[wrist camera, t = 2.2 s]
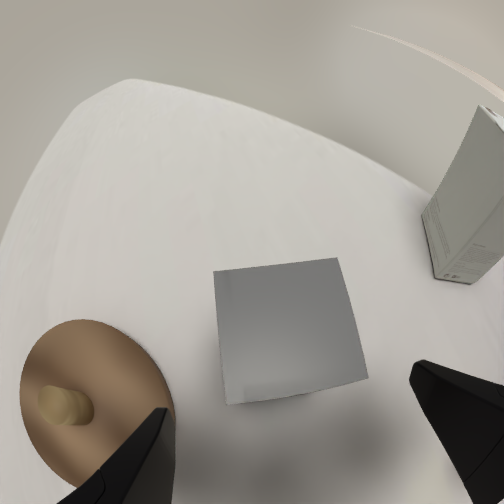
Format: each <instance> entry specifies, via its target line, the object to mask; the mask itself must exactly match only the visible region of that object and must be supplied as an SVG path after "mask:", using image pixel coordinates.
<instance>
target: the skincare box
mask: <svg viewBox="0 0 504 504" xmlns="http://www.w3.org/2000/svg"><path fill="white" fill-rule="evenodd" d="M422 218H423V222H424V226H425V230H426V234H427V238H428V243H429V247H430V252H431V257H432V262H433V267H434V274H435V278H438V279H446V280H451V281H456V282H461V283H467V284H472V283H475V282H477V281H478V280H479V279H480V278H481V277H482V276H483V275H484V274H485V273H486V272H488V271H489V270H490V269H491V268H492V267H493V266H494V265H495V264H496V263H497V262H498V261H499V260H500V259H501V258H502V257H503V256H504V117H502V116H500V115H498V114H497V113H495V112H493V111H491V110H490V109H488V108H486V107H484V106H482V105H478V107H477V110H476V112H475V115H474V117H473V119H472V122H471V124H470V126H469V128H468V131H467V133H466V135H465V137H464V140H463V142H462V144H461V146H460V148H459V150H458V152H457V154H456V156H455V158H454V160H453V162H452V164H451V165H450V167H449V169H448V171H447V173H446V175H445V177H444V178H443V180H442V182H441V184H440V186H439V187H438V189H437V191H436V193H435V194H434V196H433V198H432V199H431V201H430V203H429V204H428V206H427V208H426V209H425V211H424V212H423V214H422Z"/></svg>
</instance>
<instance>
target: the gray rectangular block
mask: <svg viewBox="0 0 504 504" xmlns="http://www.w3.org/2000/svg"><path fill="white" fill-rule="evenodd" d="M213 273H214V287H215V299H216V311H217V323H218V333H219V344H220V353H221V363H222V372H223V381H224V389H225V398H226V405H228V404H239V403H248V402H256V401H264V400H271V399H278V398H284V397H290V396H295V395H301V394H306V393H311V392H316V391H320V390H325V389H329V388H333V387H337V386H341V385H345V384H349V383H353V382H357V381H360V380H364V379H367V378H368V373H367V369H366V364H365V359H364V355H363V351H362V346H361V342H360V338H359V334H358V330H357V326H356V322H355V318H354V314H353V310H352V307H351V303H350V299H349V296H348V292H347V289H346V285H345V282H344V278H343V275H342V272H341V268H340V265H339V262H338V259H337V258H329V259H321V260H313V261H304V262H296V263H287V264H278V265H269V266H260V267H251V268H242V269H233V270H224V271H214V272H213Z"/></svg>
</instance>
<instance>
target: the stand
mask: <svg viewBox="0 0 504 504" xmlns="http://www.w3.org/2000/svg"><path fill="white" fill-rule="evenodd" d="M20 406H21V413H22V417H23V421H24V425H25V428H26V430H27V433H28V436H29V438H30V440H31V442H32V444H33V446H34V447H35V449H36V451H37V452H38V454H39V455H40V456H41V458H42V459H43V460H44V462H45V463H46V464H47V465H48V466H49V467H50V468H51V469H52V470H53V471H54V472H55V473H56V474H57V475H58V476H60V477H61V478H62V479H63V480H65V481H66V482H68V483H69V484H71V485H73V486H75V487H77V488H78V487H79V486H81V485H82V484H83V483H84V482H85V481H86V480H87V479H88V478H89V477H90V476H91V475H93V473H94V472H95V471H96V470H97V469H100V466H101V465H102V464H103V463H104V462H105V461H106V460H107V459H108V458H109V457H110V456H111V455H112V454H113V453H114V452H115V451H116V450H117V449H118V448H119V447H120V446H121V445H122V443H123V442H124V441H125V440H126V439H127V438H128V437H129V436H130V435H131V434H132V433H133V432H134V431H135V430H136V428H137V427H138V426H139V425H140V424H141V423H142V422H143V421H144V420H145V419H146V418H147V417H148V415H149V414H150V413H151V412H152V411H153V410H154V409H155V408H156V407H167V408H168V409H169V410H170V413H171V415H172V418H173V420H174V423H175V413H174V406H173V402H172V398H171V394H170V391H169V389H168V386H167V383H166V381H165V379H164V377H163V375H162V373H161V371H160V370H159V368H158V367H157V365H156V364H155V362H154V361H153V359H152V358H151V357H150V356H149V355H148V353H147V352H146V351H145V350H144V349H143V348H142V347H141V346H140V345H139V344H137V343H136V342H135V341H133V340H132V339H131V338H129V337H128V336H126V335H125V334H123V333H122V332H120V331H119V330H117V329H115V328H113V327H112V326H109V325H107V324H104V323H102V322H98V321H94V320H85V319H81V320H72V321H67V322H64V323H62V324H59V325H57V326H55V327H53V328H52V329H50V330H49V331H47V332H46V333H45V334H44V335H43V336H42V337H41V338H40V339H39V340H38V341H37V342H36V344H35V345H34V346H33V348H32V349H31V351H30V353H29V355H28V357H27V359H26V362H25V364H24V367H23V371H22V375H21V381H20Z"/></svg>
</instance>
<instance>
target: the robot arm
mask: <svg viewBox="0 0 504 504" xmlns="http://www.w3.org/2000/svg"><path fill="white" fill-rule="evenodd" d="M409 382H410V385H411V387H412V389H413V391H414V393H415V395H416V398H417V400H418V402H419V404H420V406H421V408H422V410H423V412H424V414H425V416H426V417H427V419H428V421H429V422H430V424H431V426H432V428H433V429H434V431H435V433H436V434H437V436H438V438H439V440H440V441H441V443H442V445H443V447H444V448H445V450H446V452H447V454H448V456H449V457H450V459H451V461H452V463H453V465H454V467H455V468H456V470H457V472H458V474H459V476H460V478H461V480H462V482H463V484H464V486H465V488H466V490H467V492H468V494H469V496H470V498H471V500H472V502H473V504H498V503H499V502H500V501H501V500H502V499H504V386H503V385H499V384H496V383H493V382H490V381H486V380H483V379H480V378H477V377H474V376H471V375H468V374H465V373H462V372H459V371H456V370H453V369H450V368H447V367H444V366H441V365H438V364H435V363H432V362H429V361H427V360H420V361H417V362H415V363H414V364H413V367H412V371H411V374H410V378H409ZM174 473H175V423H174V420H173V418H172V415H171V413H170V410H169V409H168V408H167V407H156V408H155V409H154V410H153V411H152V412H151V413H150V414H149V415H148V417H147V418H146V419H145V420H144V421H143V422H142V423H141V424H140V425H139V426H138V427H137V428H136V430H135V431H134V432H133V433H132V434H131V435H130V436H129V437H128V438H127V439H126V440H125V441H124V442H123V443H122V445H121V446H120V447H119V448H118V449H117V450H116V451H115V452H114V453H113V454H112V455H111V456H110V457H109V458H108V459H107V460H106V461H105V462H104V463H103V464H102V465H101V466H100V469H97V470H96V471H95V472H94V473H93V475H91V476H90V477H89V478H88V479H87V480H86V481H85V482H84V483H83V484H82V485H81V486H79V487H78V488H77V489H76V490H74V491H73V492H72V493H70V494H69V495H68V496H66V497H65V498H64V499H62V500H61V501H60V502H58V503H57V504H171V501H172V491H173V481H174Z"/></svg>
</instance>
